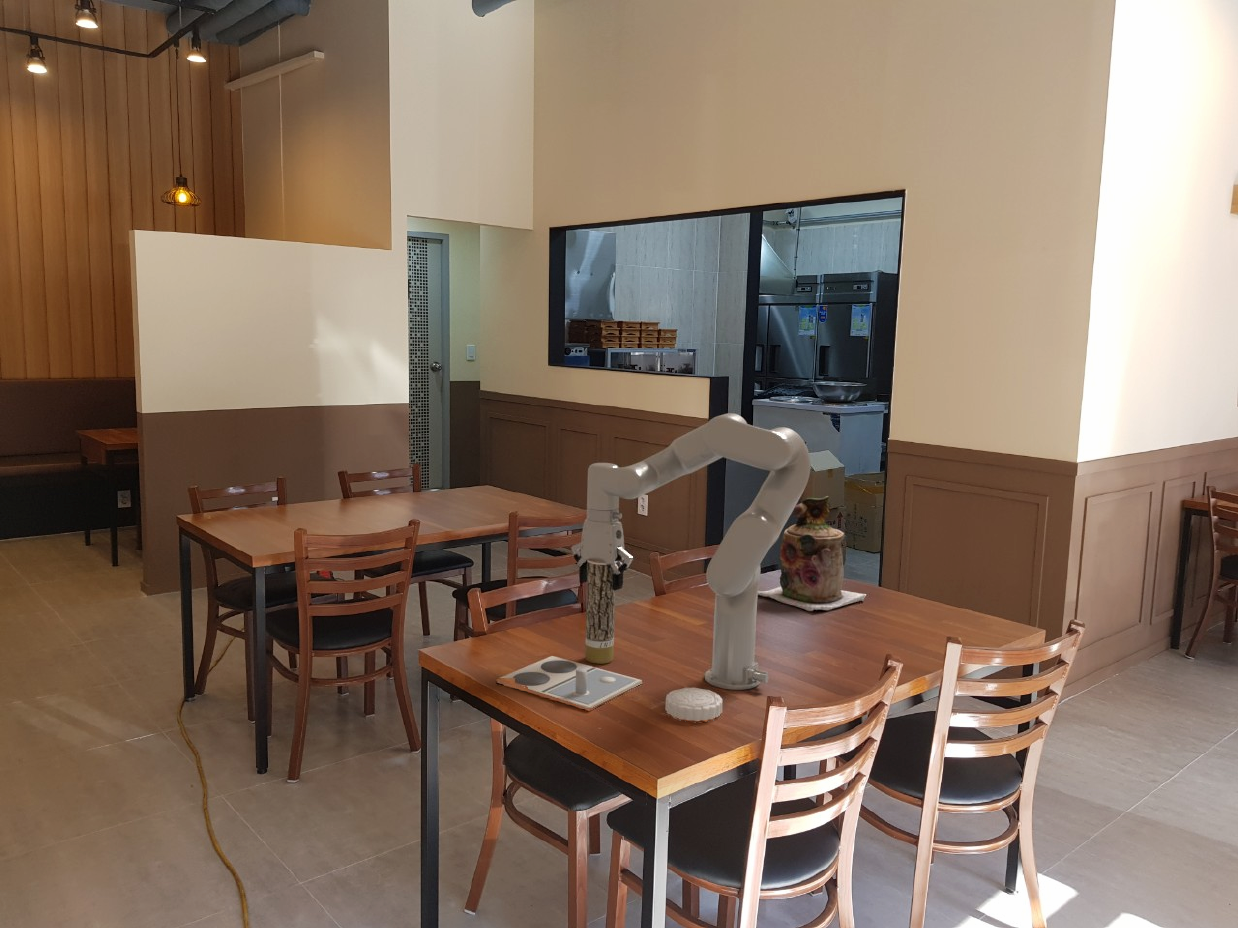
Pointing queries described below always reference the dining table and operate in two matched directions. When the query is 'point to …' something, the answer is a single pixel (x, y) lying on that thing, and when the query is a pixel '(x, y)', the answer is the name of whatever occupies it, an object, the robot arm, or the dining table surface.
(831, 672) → the dining table surface
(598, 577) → the paper tube
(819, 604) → the cookie jar
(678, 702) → the mooncake
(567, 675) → the board
